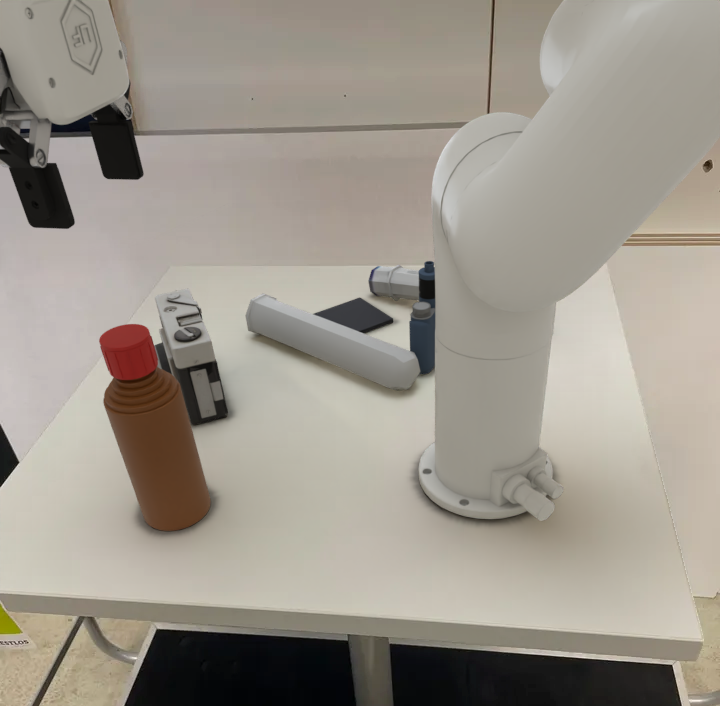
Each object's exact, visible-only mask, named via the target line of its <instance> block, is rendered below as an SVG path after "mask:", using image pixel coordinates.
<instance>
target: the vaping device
mask: <svg viewBox="0 0 720 706" xmlns="http://www.w3.org/2000/svg"><path fill="white" fill-rule="evenodd" d="M418 271H419V278H420V279H419V291H420V292H419V293H420V294H419V300H418V301H417V302H415V303H413V304H412V311H411V312H410V314H409V315H410V320H409V322H408V323H409V351H411V352H414V353H415V355H416V357H417V359H418V363H419V367H420V373H419V375H427V374H430V373H431V372H432V371H433V369H435V264H434V260H433V261H432V260H427V261H425V262H424V265H423V267H422V268H420V269H418Z"/></svg>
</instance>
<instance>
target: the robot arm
mask: <svg viewBox="0 0 720 706" xmlns="http://www.w3.org/2000/svg"><path fill="white" fill-rule="evenodd" d="M539 73H540V77H541V81H542V84H543V87H544V89H545V91H546V93H547V95H548V98H546V100H545V101H544V103H543V104H542V105H541V107H540V108H539V109H538V111H537V112H536V113H535V115H534V116H533V118H531V117H528V116H526V115H522V114H518V113H514V112H508V111H497V112H491V113H486V114H483V115H480V116H477V117H476V118H474V119H472V120H470V121H468V122H467V123H466V124H464V125H463V126H462V127H459V129H458V130H457V131H456V132H454V134H453V135H452V136H451V138H450V139H449V141H447V143H446V144H445V146H444V148H443V149H442V151H441V153H440V154H439V158H438V159H437V163H436V164H435V169H434V173H433V177H432V185H431V195H430V196H431V199H430V200H431V203H430V205H431V207H430V208H431V228H432V244H433V259H434V260H433V262H434V267H435V366H434V442H432V443H431V444H429V446H427V448H426V449H425V450H424V451H423V452H422V455H421V456H420V458H419V463H418V480H419V484H420V487H421V489H422V490H423V492H424V494H426V496H427V497H428V498H429V499H430V500H431V501H432V502H434V503H435V504H436V505H438V506H439V508H442V509H444V510H447V511H449V512H451V513H454V514H456V515H460V516H462V517H467V518H471V519H472V518H473V519H479V520H480V519H481V520H497V519H506V518H511V517H515V516H518V515H521V514H524V513H526V512H527V513H529V514H530V515H531V516H533V517H534V518H536V520H538V521H539V522H542V521H546V520H547V519H548V518H550V516H551V515H552V514H553V512H554V510H555V508H556V505H555V503H554V502H553V501H552V500H550V499H549V498H548V497H547V496H549V497H550V498H552V499H553V500H556V499H558V498H559V497H561V495H562V494H563V493H564V490H565V489H564V486H563V485H562V484H561V483H560V482H558V481H556V480H555V479H553V476H554V469H553V464H552V462H551V459H550V458H549V456H548V452H547V451H546V450H543V449H542V448H541V447H540V443H541V442H540V441H541V433H542V425H543V416H544V410H545V409H544V408H545V399H546V391H547V383H548V382H547V381H548V373H549V365H550V357H551V349H552V342H553V335H554V329H555V320H556V310H557V303H558V302H560V301H562V300H563V299H565V298H567V297H568V296H570V295H571V294H573V293H574V292H576V291H577V290H578V289H579V288H580V287H582V286H583V285H584V284H585V283H587V282H588V281H589V280H590V279H591V278H592V277H593V276H594V275H595V274H596V273H597V272H598V271H599V270H600V269H602V267H603V266H605V264H606V263H607V262H608V261H609V260H610V259H611V258H612V257H613V256H614V255H615V254H616V252H617V251H618V250H620V248H621V247H623V245H624V244H625V243H626V242H627V241H628V240H629V239H630V238H631V236H632V235H633V234H635V232H636V231H637V230H638V229H639V228H640V227H641V226H642V225H643V224H644V223H645V222H646V220H647V219H649V218H650V216H651V215H652V214H653V213H654V212H655V211H656V210H657V209H658V208H659V207H660V206H661V205H662V203H663V202H664V201H665V200H666V199H667V198H668V197H669V196H670V195H671V194H672V193H673V192H674V190H675V189H676V188H677V187H678V186H679V185H680V184H681V183H682V182H683V180H685V179H686V177H687V176H689V174H690V173H691V172H692V171H693V170H694V169H695V168H696V167H697V165H698V164H699V163H700V162H701V161H702V160H703V159H704V157H706V155H707V154H708V153H709V152H710V151H711V149H713V147H714V146H715V144H716V143H717V142H718V141H719V139H720V0H562V1H561V2H560V4H559V6H558V7H557V8H556V9H555V11H554V13H553V14H552V16H551V18H550V20H549V22H548V25H547V26H546V29H545V31H544V34H543V36H542V40H541V43H540V49H539ZM130 90H131V79H130V75H129V69H128V48H127V45H126V42H124V41H123V40H121V39H120V36H119V32H118V28H117V25H116V22H115V18H114V15H113V12H112V9H111V6H110V2H109V0H0V167H3V168H8V170H9V173H10V176H11V178H12V182H13V184H14V187H15V189H16V192H17V195H18V197H19V200H20V203H21V206H22V209H23V211H24V214H25V217H26V220H27V222H28V224H29V226H31V227H32V228H34V229H35V228H36V229H59V230H68V229H71V228H72V227H73V226H74V225H75V223H76V221H75V216H74V213H73V209H72V207H71V204H70V201H69V198H68V197H69V196H68V194H67V191H66V188H65V185H64V182H63V179H62V176H61V173H60V169H59V167H58V164H57V162H48V161H49V152H50V143H51V142H50V141H51V133H52V125H53V124H55V125H59V126H64V125H69V124H72V123H74V122H76V121H79V120H80V119H83V118H84V117H87V116H90V115H91V117H92V118H93V119H94V120H91V121H88V126H89V130H90V134H91V137H92V141H93V145H94V148H95V153H96V156H97V159H98V163H99V165H100V169H101V173H102V176H103V177H104V179H106V180H126V181H128V180H129V181H132V180H133V181H138V180H140V179H142V178H143V177H144V175H145V174H144V169H143V168H144V167H143V164H142V160H141V157H140V152H139V148H138V145H137V139H136V137H135V132H134V127H133V124H132V121H131V119H132V118H133V113H134V111H133V106H132V103H131V102H130V101H129V97H130ZM25 129H26V130H27V129H29V133H28V134H29V135H28V140H26V139H25V138H24V137H22V136H21V130H25Z"/></svg>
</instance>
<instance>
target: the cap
mask: <svg viewBox="0 0 720 706" xmlns="http://www.w3.org/2000/svg"><path fill="white" fill-rule="evenodd" d="M98 342H99V347H100V350H101V354H102V356H103V359H104V363H105V365H106V368H107V371H108V372H109V375H110V376H111V377H112V378H116V379H120V380H132V379H137V378H141V377H143V376H146V375H148V374H150V373H151V372H153V371H154V370H155V369H156V367H157V365H158V358H157V354H156V351H155V347H154V345H155V343H154V340H153V336H152V335H151V333H150V329H149V327H147V326H145V325H143V324H139V323H128V324H127V323H126V324H121V325H117V326H114V327H112V328H109V329H107V330H106V331H104V332H103V333H102V334H101V335H100V337H99V339H98Z"/></svg>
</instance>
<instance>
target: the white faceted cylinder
mask: <svg viewBox="0 0 720 706" xmlns="http://www.w3.org/2000/svg"><path fill="white" fill-rule="evenodd" d="M419 279H420V278H419V269H418V270H417V269H412V268H411V269H410V268H405V267H403V266H402V265H401V264H397V265H395V266H383V265H377V266H376V267H374V268H372V269H371V271H370V274H369V277H368V287H369V292H370V293H371V294H373V295H374V296H376V297H382V298H383V297H385V298H391V299H392V300H394V301H396V302H397V301H399V300H401V299H402V300H413V301H419V294H420V293H419V292H420V291H419Z"/></svg>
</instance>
